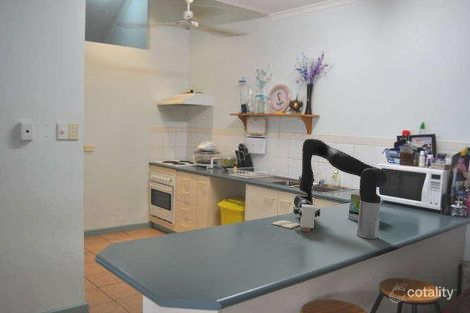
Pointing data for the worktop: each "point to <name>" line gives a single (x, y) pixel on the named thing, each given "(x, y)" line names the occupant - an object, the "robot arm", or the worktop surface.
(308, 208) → the white rectangular block
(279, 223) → the cork mat
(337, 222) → the worktop surface
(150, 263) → the worktop surface
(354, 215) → the tea box
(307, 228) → the block
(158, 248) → the worktop surface
